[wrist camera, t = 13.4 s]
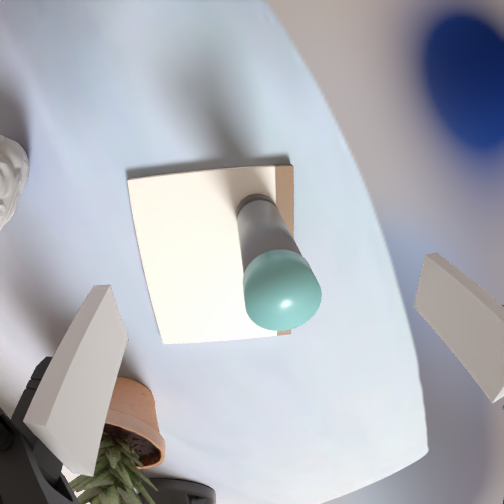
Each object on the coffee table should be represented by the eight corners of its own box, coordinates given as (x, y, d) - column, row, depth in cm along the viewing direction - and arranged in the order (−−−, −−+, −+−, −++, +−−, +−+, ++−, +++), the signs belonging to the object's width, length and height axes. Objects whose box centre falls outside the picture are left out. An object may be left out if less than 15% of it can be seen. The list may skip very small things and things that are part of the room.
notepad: (164, 339, 25) (163, 344, 25) (129, 178, 19) (126, 180, 19) (289, 329, 26) (290, 334, 25) (291, 164, 20) (293, 166, 19)
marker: (235, 235, 21) (246, 334, 12) (233, 193, 20) (242, 270, 11) (278, 232, 21) (317, 326, 12) (278, 191, 20) (324, 264, 11)
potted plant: (132, 353, 26) (93, 617, 3) (186, 407, 30) (188, 620, 8) (67, 375, 27) (14, 575, 4) (121, 422, 31) (100, 599, 8)
